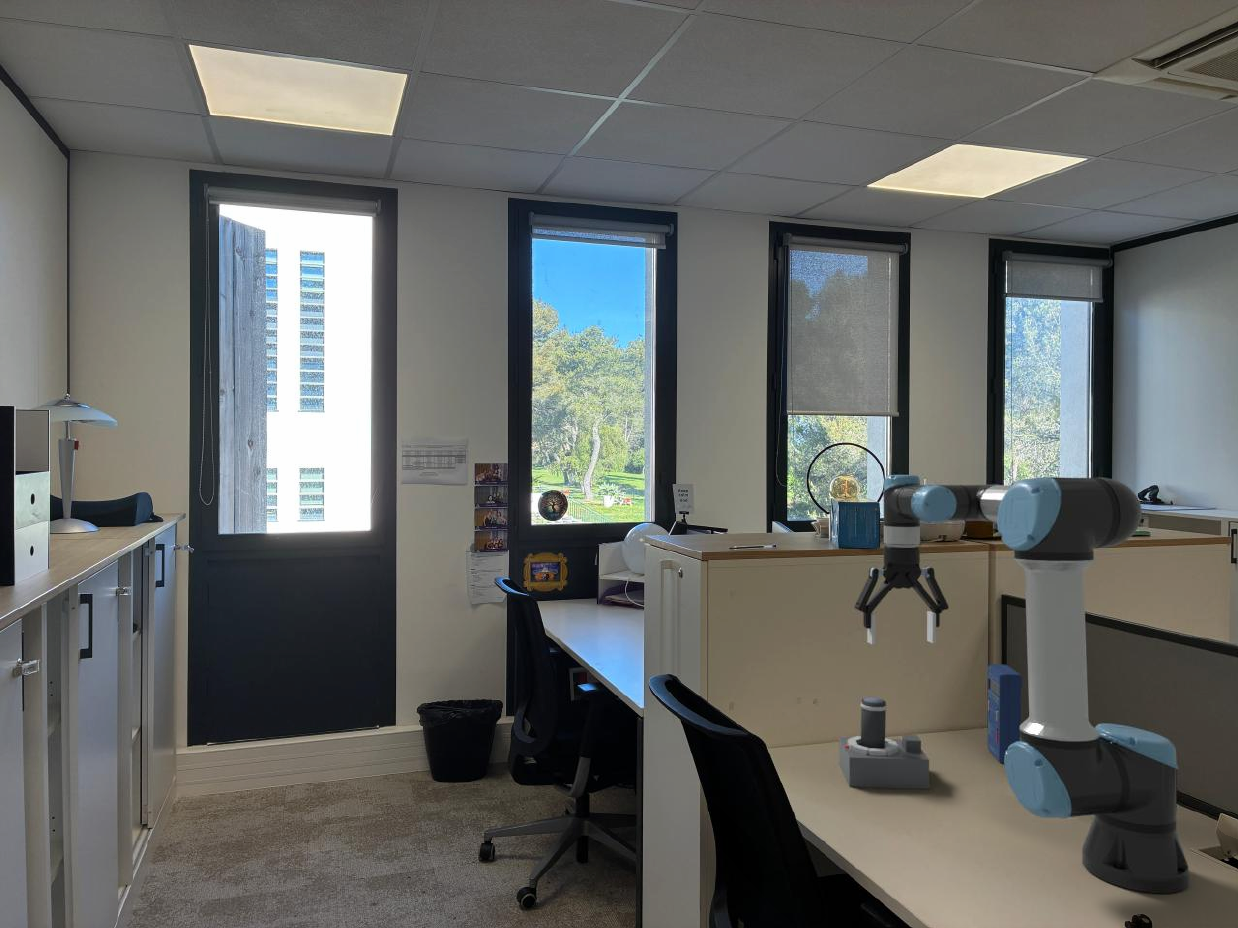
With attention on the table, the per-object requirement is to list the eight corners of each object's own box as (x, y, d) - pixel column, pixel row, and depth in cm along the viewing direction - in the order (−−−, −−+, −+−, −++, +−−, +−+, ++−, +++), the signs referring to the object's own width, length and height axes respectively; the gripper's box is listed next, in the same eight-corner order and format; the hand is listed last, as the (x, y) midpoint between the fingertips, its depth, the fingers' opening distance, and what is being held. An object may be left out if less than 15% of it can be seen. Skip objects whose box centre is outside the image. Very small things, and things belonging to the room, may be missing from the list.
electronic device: (985, 749, 204) (986, 663, 204) (1009, 750, 204) (1009, 664, 204) (998, 763, 195) (999, 673, 195) (1022, 764, 194) (1023, 674, 194)
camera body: (929, 788, 180) (929, 747, 180) (849, 786, 182) (849, 745, 182) (913, 766, 193) (913, 728, 193) (839, 764, 195) (839, 726, 195)
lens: (888, 746, 188) (889, 699, 188) (880, 753, 184) (881, 705, 184) (865, 741, 191) (866, 695, 191) (856, 748, 187) (857, 700, 187)
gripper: (948, 543, 197) (948, 638, 197) (840, 544, 195) (840, 640, 195) (964, 546, 189) (964, 645, 190) (852, 547, 187) (852, 647, 187)
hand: (901, 642), depth 192 cm, fingers open, 13 cm apart
